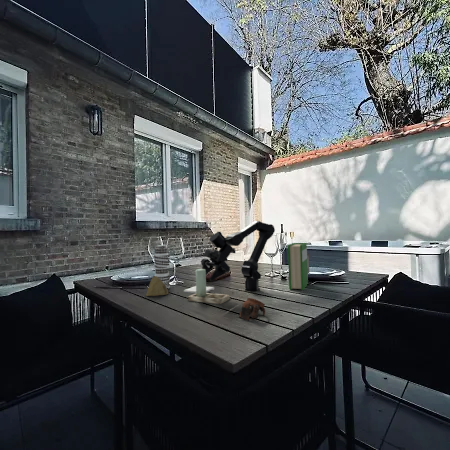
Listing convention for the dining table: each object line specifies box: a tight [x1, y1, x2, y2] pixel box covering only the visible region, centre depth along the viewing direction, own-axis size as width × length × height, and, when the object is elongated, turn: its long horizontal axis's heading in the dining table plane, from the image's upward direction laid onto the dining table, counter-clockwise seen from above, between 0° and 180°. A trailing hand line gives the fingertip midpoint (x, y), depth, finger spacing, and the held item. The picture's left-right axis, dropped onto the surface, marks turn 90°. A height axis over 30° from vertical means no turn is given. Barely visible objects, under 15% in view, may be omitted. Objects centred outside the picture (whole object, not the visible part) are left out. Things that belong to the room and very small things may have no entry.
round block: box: [195, 268, 207, 297], centre depth 139 cm, size 5×5×14 cm
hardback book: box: [287, 242, 309, 291], centre depth 162 cm, size 18×7×24 cm, turn 157°
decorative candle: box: [153, 244, 171, 289], centre depth 171 cm, size 9×9×25 cm
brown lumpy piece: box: [239, 297, 266, 321], centre depth 111 cm, size 12×10×8 cm
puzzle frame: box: [187, 292, 231, 305], centre depth 137 cm, size 17×9×2 cm, turn 64°
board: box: [183, 285, 215, 294], centre depth 158 cm, size 12×12×2 cm
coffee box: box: [307, 252, 310, 274], centre depth 185 cm, size 9×6×16 cm
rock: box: [145, 275, 169, 297], centre depth 153 cm, size 11×9×10 cm
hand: (205, 278), depth 141 cm, fingers open, 9 cm apart
